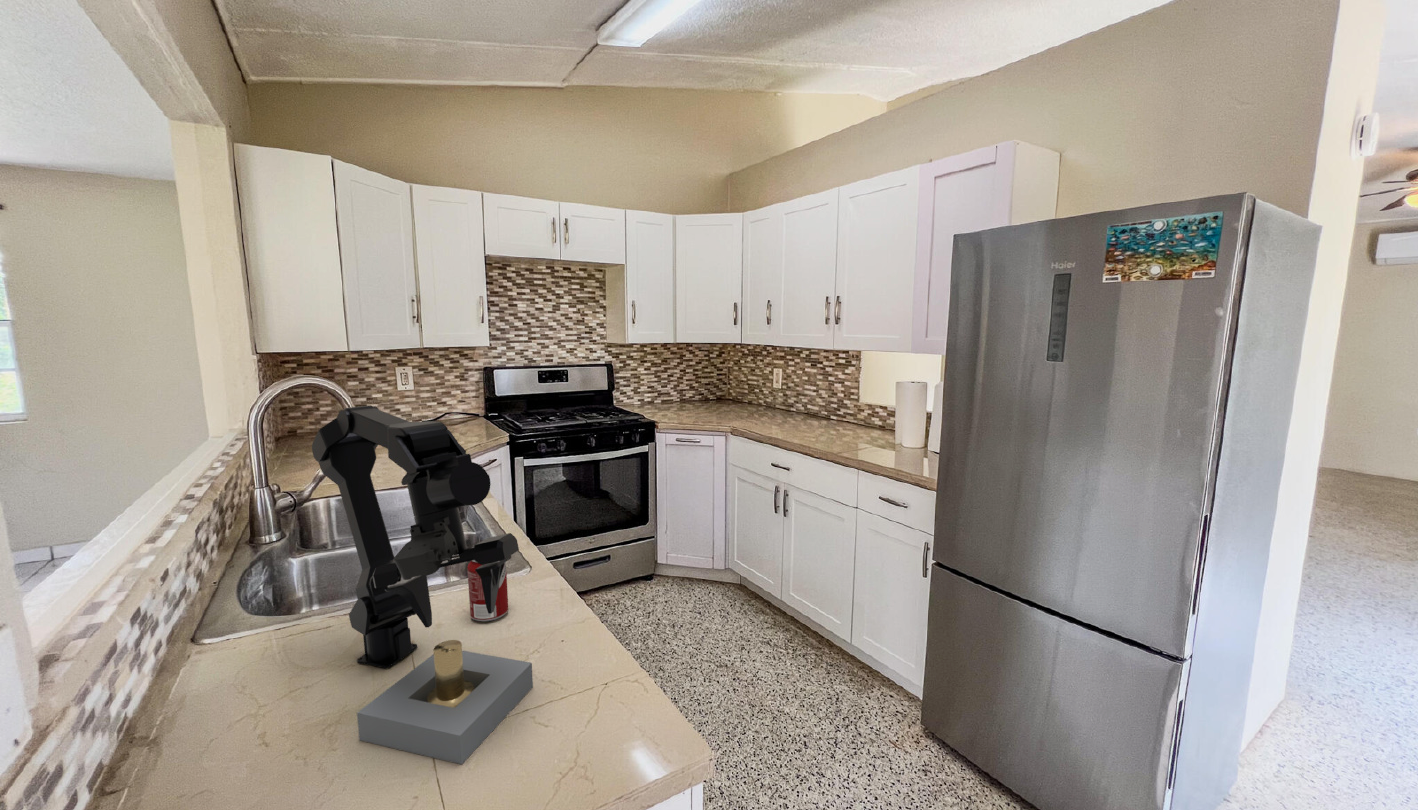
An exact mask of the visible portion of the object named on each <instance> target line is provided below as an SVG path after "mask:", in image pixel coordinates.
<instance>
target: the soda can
mask: <svg viewBox="0 0 1418 810" xmlns="http://www.w3.org/2000/svg"><path fill="white" fill-rule="evenodd" d="M480 566H481V564H479V563H478V562H476V561H475V560H472V561H469V563H468V564H467V580H468V599H469V600H468V601H469V614H470V617H471V619H472V620H474V621H478V622H480V623H481V622H483V623H487V622H489V623H490V622H493V621H495V620H498V619H500V618H502V617H504V616H505V615H506V614H507V613H508V611H509V595H508V594H509V593H508V591H509V590H508V578H507V574H508V572H507V561H506V562H505V565H504V568H503V571H502V575H501V578H500V582H499V588H498V593H497V598H496V603H495V609H494V612H493V613H491V614H489V613H488V611H487V608H486V605H485V599H484V593H483V588H482V582H481V578H480V576H479V575H478V574H477V572H476V571H475V569H476V568H478V567H480Z"/></svg>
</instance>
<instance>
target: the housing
mask: <svg viewBox="0 0 1418 810" xmlns="http://www.w3.org/2000/svg"><path fill="white" fill-rule="evenodd" d="M462 658H463V673H464V680H466V681H469V682H471V683H472V684H473V687H474V690H473V691H472V692H471V693H470V694H469V695H468V696H467V697H466V698H465V699H464V700H463V701H462V702H460V703H459V704H458V705H457V706H456V707H455V708H452V707H447V706H442V705H438V704H433V703H428V701H427V697H428V695H429V693H430V692H431V691H432V690H433V689H434V688H435V687H436V678H435V665H434V653H433V654H431V656H429V657H428V658H427V659H425V660H424V661H423V662H421V663H420V664H418V665H417V666H416V667H415V668H413V669H412V670H411V671H410V672H408V673H407V674H406V675H405V676H403V677H402V678H401V679H399V680H398V681H396V682H395V683H394V684H393V685H391V686H389V688H387V689H386V690H385V691H383V692H382V693H381V694H380V695H378V696H377V697H376V698H374V699H372V701H370V702H369V703H367V705H365V706H364V707H363V708H361V709H360V710H359V711H357V712H356V718H357V727H358V738H359V741H361V742H366V743H370V744H374V745H378V746H382V747H386V748H391V749H395V750H400V751H404V752H407V753H412V754H416V755H421V756H425V757H429V758H433V759H436V760H437V759H438V760H442V761H446V762H451V763H454V764H458V765H463V764H464V763H465V762H466V761H467V760H468V759H469V757H470V756H472V754H473V753H474V752H475V751H476V750H477V749H478V748H479V747H480V746H481V744H482V743H483V742H484V741H485V740H486V739H487V738H488V737H489V736H490V735H491V733H493V732H494V730H495V729H496V728H497V727H498V726H499V724H500V723H502V722H503V720H504V719H505V718H506V717H507V716H508V715H509V714H510V712H512V711H513V709H515V707H516V706H517V705H519V703H520V702H521V701H522V699H523V698H524V697H525V696H526V695H527V694H528V693H529V692H530V691H531V689H533V687H534V684H533V679H534V677H533V663H532V662H530V661H526V660H525V661H524V660H517V659H512V658H508V657H507V658H506V657H501V656H496V655H490V654H484V653H477V652H472V651H467V650H462Z"/></svg>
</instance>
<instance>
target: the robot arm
mask: <svg viewBox="0 0 1418 810" xmlns="http://www.w3.org/2000/svg"><path fill="white" fill-rule="evenodd" d="M378 445H379V446H381V447H383V448H385V449H387V452H388V453H387V456H388V457H387V458H388V459H389V460H390V461H392V462H393V463H395V464H396V465H397V466H398V467H400V468H401V469H402V470H404V471H405V472H406V474H405V475H404V476H402V479H401V482H400V483H401V485H402V486H407V490H408V495H409V499H410V504H411V509H412V513H413V517H414V524H412V525H410V526H409V527H410V531H409V533H410V540H409V541H408V542H406V543H405V544H404V545H403V546H402V548H400V550H399V551H398V552H397V554H396V555H395V554H394V551H393V548H392V544H391V540H390V536H389V534H388V531H387V527H386V524H385V520H384V517H383V513H382V511H381V508H380V504H379V501H378V500H379V499H378V497H377V494H376V490H375V486H374V483H373V481H372V475H371V474H372V471H373V470H374V466H375V463H376V461H377V454H376V453H377V452H376V449H377V448H378ZM311 450H312V451H311V452H312V456H313V458H314V460H315V462H318V465H319V468H320V470H321V473H322V474H323V475H324V476H325V477H327V478H328V479H329V480H330V481H332V482H333V483H334V484H336V485H337V487H338V490H339V493H340V497H341V499H342V500H341V501H342V503H343V507H344V510H345V514H346V518H347V521H348V525H349V529H350V532H351V535H352V540H353V542H354V546H355V549H356V553H357V556H358V559H359V563H360V567H361V572H360V575H359V578H358V581H357V584H356V587H355V593H356V598H357V600H356V602H355V604H354V605H353V607H352V608H351V610H350V611H349V613H348V617H349V618H348V619H349V622H350V627H351V628H352V629H354V630H355V631H357V632H358V633H360V634H361V635H362V636H363V638H362V639H363V648H364V654H363V655H362V656H360V657H358V658H357V659H356V663H358V664H361V665H367V666H372V667H379V668H383V669H390V668H391V667H393V666H394V665H395V664H397V663H398V662H400V661H401V660H403V659H404V658H405V657H407V656H408V655H409V654H411V653H412V652H414V651H415V650H416V649H417V648H418V644H417V643H413V642H412V641H411V639H412V638H411V629H410V627H409V619H408V618H409V617H412V616H417V617H418V618H419V619H418V620H420V621H421V623H422V624H423V626H424V627H425V628H430V627H431V626H432V625H433V611H432V604H431V598H430V591H429V583H428V576H431V575H433V574H435V573H436V572H438V571H439V570H440V568H446V567H451V566H454V565H458V564H463V563H468V562H470V561H472V560H475V561H476V562H478V563H479V564H481V566H480V567H478V568H476V569H475V571H476V572H477V574H478V575H479V576H480V578H481V582H482V588H483V593H484V599H485V605H486V608H487V611H488V613H489V614H491V613H493V612H494V609H495V603H496V598H497V593H498V588H499V582H500V578H501V575H502V571H503V568H504V565H505V562H506V563H507V562H508V561H509V560H511V559H512V555H513V554H516V553H517V552H519V551H520V548H519V544H518V540H517V538H516V536H514V534H513V533H511V532H509V533H504V534H500V535H495V536H490V537H487V538H485V539H483V540H481V541H479V542H478V543H477V542H476V543H475V544H474V546H472V542H471V538H466V537H465V531H464V528H463V523H462V520H463V519H465V518H466V515H465V511H464V510H462V511H460V509H459V508H464V507H465V508H466V507H469V506H475V505H478V504H480V503H482V502H483V501H484V500H485V499H486V498H487V497H488V495H489V492H490V490H491V485H492V483H491V477H490V474H488V473H487V471H486V469H485V468H484V467H483V466H482V465H480V464H479V463H476V462H473V461H472V457H471V454H470V453H467V450H466V449H465V448H464V447H463V446H462V445H461V444H460V443H459V441H458V440H457V438H456V437H455V436H454V434H453V433H452V432H451V430H450V429H449V428H448V426H447V425H446V424H444V423H443V422H441V421H431V420H430V421H429V420H428V421H426V420H425V421H410V420H407V419H405V418H401V417H398V416H396V415H393V414H391V413H387V412H385V411H383V410H380V409H379V407H377V406H374V405H361V406H352V407H351V406H350V407H345V408H344V409H340V410H339V412H338V413H337V415H336V417H335V418H334V419H332V420H331V421H329V422H328V423H327V424H325V425H324V426H321V428H319V429H318V431H317V433H316V435H315V437H314V439H313V440H312V444H311ZM470 546H472V547H470Z"/></svg>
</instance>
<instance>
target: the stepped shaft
mask: <svg viewBox="0 0 1418 810" xmlns="http://www.w3.org/2000/svg"><path fill="white" fill-rule="evenodd" d="M462 645H463V644H462V642H461V641H460V640H458V639H448V640H445V641H442V642H439V643H438V644H437V645H435V646H434V648H433V649H432V650H433V654H434V665H435V678H436V687H435V688H434V689H433V690H432V691H431V692H430V693H429V695H428V697H427V701H428V703H433V704H438V705H442V706H447V707H452V708H455V707H456V706H457V705H458V704H459V703H460V702H462V701H463V700H464V699H465V698H466V697H467V696H468V695H469V694H470V693H471V692H472V691H473V690H474V687H473V684H472V683H471V682H469V681H466V680H464V673H463V658H462V651H463V646H462Z"/></svg>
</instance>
